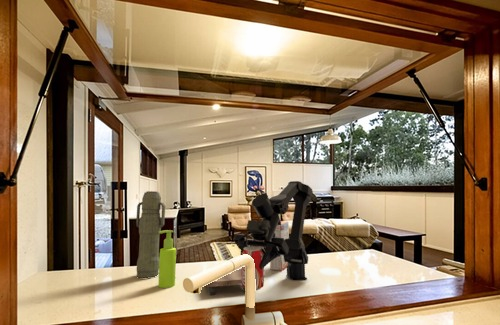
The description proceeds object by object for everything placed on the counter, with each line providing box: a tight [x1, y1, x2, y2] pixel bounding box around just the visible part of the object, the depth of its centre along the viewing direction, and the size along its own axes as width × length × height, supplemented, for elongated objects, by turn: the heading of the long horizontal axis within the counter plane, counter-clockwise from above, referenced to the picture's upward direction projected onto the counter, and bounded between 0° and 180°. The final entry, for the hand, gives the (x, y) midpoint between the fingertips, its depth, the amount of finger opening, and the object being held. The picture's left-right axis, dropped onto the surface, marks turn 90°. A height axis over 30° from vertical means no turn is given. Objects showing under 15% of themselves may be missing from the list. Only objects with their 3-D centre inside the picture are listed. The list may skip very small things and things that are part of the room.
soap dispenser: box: [157, 229, 177, 289], centre depth 101 cm, size 6×7×20 cm
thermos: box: [135, 190, 166, 279], centre depth 116 cm, size 9×12×35 cm
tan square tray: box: [205, 268, 246, 296], centre depth 98 cm, size 16×14×4 cm
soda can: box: [240, 246, 265, 291], centre depth 85 cm, size 7×7×12 cm
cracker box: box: [269, 220, 290, 272], centre depth 130 cm, size 14×6×21 cm, turn 157°
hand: (250, 266), depth 84 cm, fingers closed on soda can, 7 cm apart
